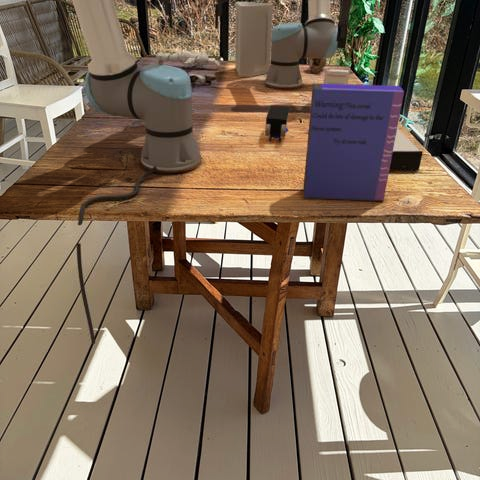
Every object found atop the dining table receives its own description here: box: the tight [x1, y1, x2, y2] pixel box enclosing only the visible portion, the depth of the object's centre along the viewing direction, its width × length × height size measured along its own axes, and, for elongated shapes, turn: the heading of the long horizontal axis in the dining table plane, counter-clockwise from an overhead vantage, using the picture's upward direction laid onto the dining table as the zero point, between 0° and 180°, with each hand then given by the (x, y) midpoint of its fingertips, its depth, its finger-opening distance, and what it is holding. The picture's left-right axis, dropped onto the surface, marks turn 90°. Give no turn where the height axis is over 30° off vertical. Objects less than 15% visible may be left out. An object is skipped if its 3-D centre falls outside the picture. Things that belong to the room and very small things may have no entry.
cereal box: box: [302, 83, 405, 202], centre depth 102 cm, size 17×5×24 cm, turn 86°
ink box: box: [323, 68, 350, 85], centre depth 171 cm, size 8×5×12 cm, turn 81°
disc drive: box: [389, 127, 424, 172], centre depth 128 cm, size 18×22×5 cm
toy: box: [155, 50, 221, 69], centre depth 223 cm, size 24×25×7 cm
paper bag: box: [234, 1, 274, 78], centre depth 210 cm, size 19×15×28 cm
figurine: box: [162, 63, 218, 85], centre depth 194 cm, size 24×8×30 cm
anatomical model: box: [306, 58, 328, 74], centre depth 220 cm, size 13×9×15 cm
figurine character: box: [264, 105, 290, 143], centre depth 140 cm, size 7×8×15 cm
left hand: (193, 28), depth 143 cm, fingers open, 13 cm apart
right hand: (340, 44), depth 163 cm, fingers open, 13 cm apart
